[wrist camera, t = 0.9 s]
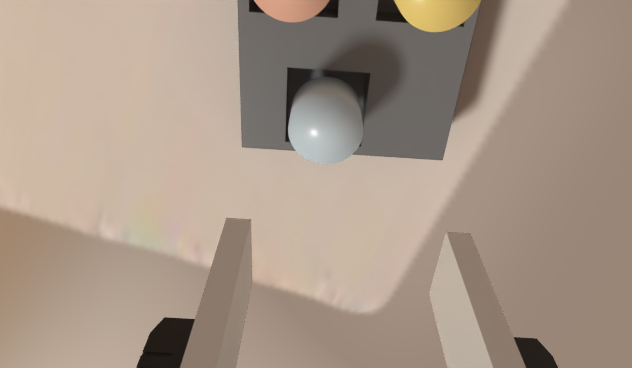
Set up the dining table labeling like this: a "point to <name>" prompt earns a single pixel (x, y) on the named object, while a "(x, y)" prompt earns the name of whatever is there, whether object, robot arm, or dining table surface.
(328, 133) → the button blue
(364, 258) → the dining table surface
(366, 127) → the button panel
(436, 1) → the button mustard
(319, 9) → the salmon pink rounded dome
